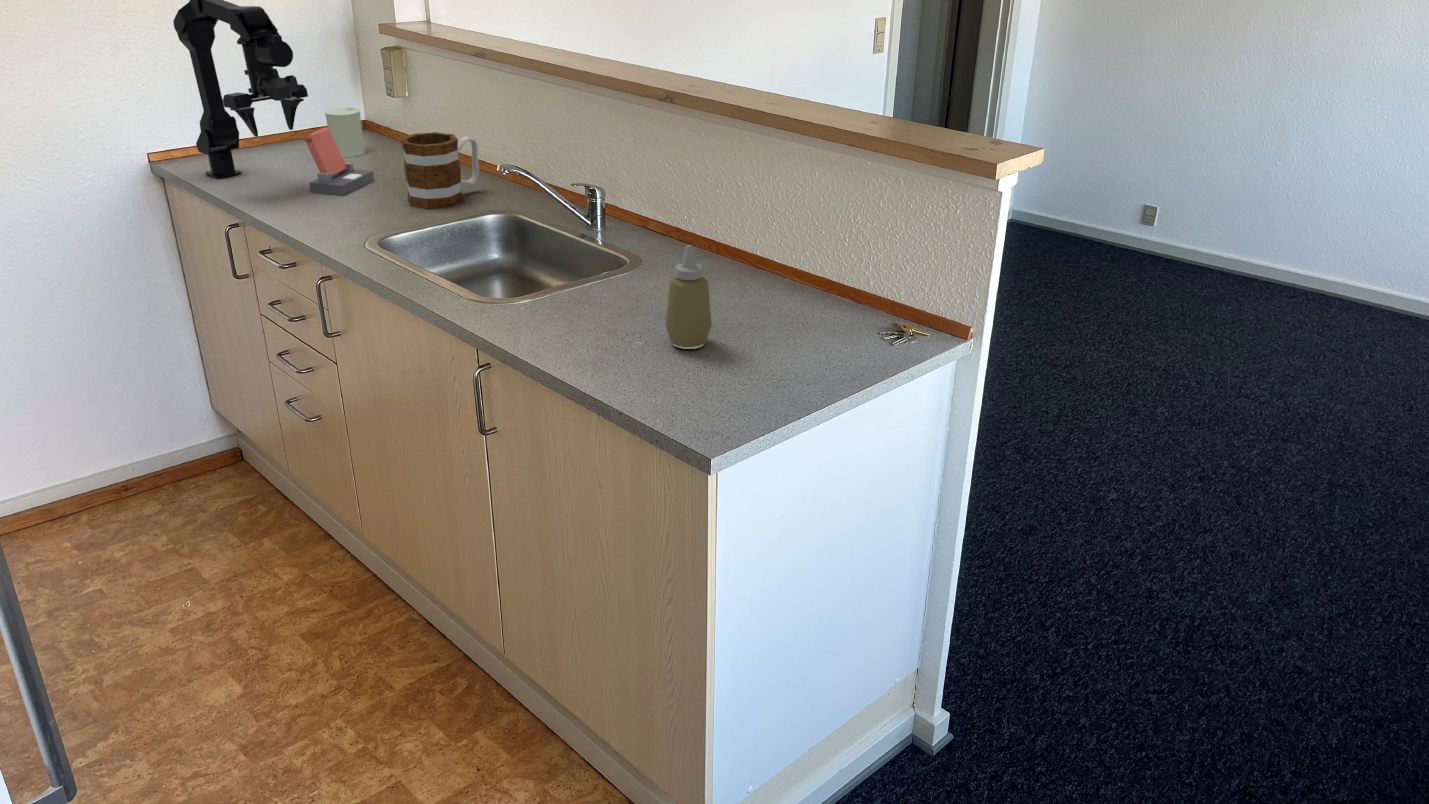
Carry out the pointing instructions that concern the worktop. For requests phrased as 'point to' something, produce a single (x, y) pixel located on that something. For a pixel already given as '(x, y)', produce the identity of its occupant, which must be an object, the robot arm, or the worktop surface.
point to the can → (346, 130)
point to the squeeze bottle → (688, 303)
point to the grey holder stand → (341, 181)
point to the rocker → (325, 151)
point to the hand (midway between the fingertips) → (273, 133)
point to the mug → (436, 169)
